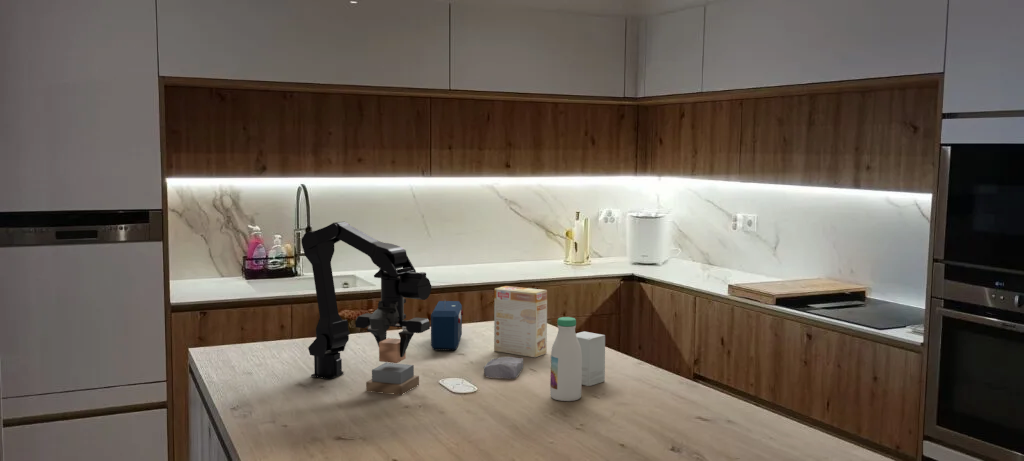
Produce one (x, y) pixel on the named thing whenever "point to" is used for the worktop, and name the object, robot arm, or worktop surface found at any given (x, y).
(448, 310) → the radio
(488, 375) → the stone block
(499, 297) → the coffeecake box
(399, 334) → the robot arm
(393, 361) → the terracotta cube
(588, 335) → the supplement box
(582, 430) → the worktop surface
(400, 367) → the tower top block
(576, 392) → the milk bottle
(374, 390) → the tower base block
